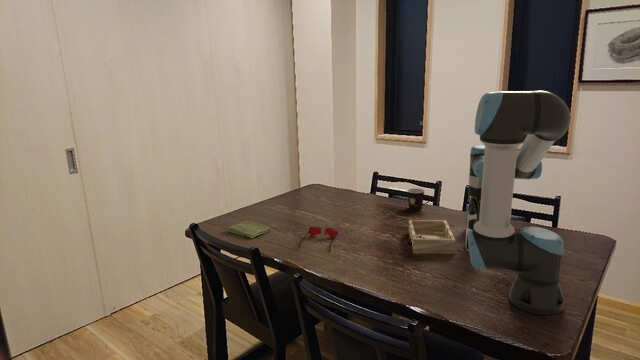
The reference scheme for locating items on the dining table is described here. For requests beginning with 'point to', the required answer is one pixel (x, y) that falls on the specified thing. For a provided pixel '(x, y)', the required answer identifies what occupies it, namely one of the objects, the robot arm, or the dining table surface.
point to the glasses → (317, 231)
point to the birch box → (431, 237)
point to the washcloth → (248, 229)
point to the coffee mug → (416, 199)
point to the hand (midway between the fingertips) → (475, 236)
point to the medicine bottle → (470, 227)
